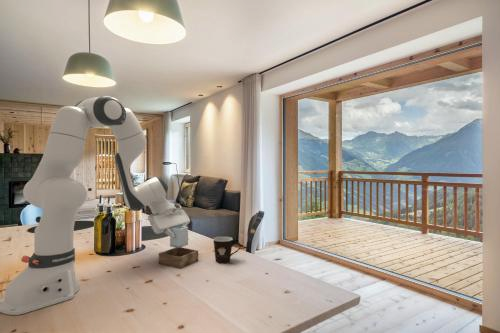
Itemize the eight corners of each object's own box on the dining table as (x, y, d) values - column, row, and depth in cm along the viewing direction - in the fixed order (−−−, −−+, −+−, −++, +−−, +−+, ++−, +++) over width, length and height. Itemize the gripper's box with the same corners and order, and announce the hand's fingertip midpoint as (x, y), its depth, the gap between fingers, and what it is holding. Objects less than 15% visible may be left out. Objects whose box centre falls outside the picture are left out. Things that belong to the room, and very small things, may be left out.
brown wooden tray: (180, 268, 128) (180, 257, 128) (158, 263, 133) (158, 253, 133) (198, 260, 138) (198, 250, 138) (177, 256, 144) (177, 246, 144)
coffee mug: (209, 262, 136) (209, 239, 136) (220, 257, 144) (220, 235, 144) (231, 266, 131) (232, 243, 130) (241, 261, 138) (241, 238, 138)
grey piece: (178, 248, 132) (178, 229, 132) (170, 246, 134) (170, 228, 134) (188, 244, 137) (188, 226, 137) (179, 243, 140) (179, 225, 140)
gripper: (149, 210, 130) (167, 236, 125) (182, 204, 148) (198, 227, 143) (142, 220, 132) (159, 246, 127) (175, 212, 150) (191, 235, 145)
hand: (180, 235), depth 135 cm, fingers closed on grey piece, 6 cm apart
